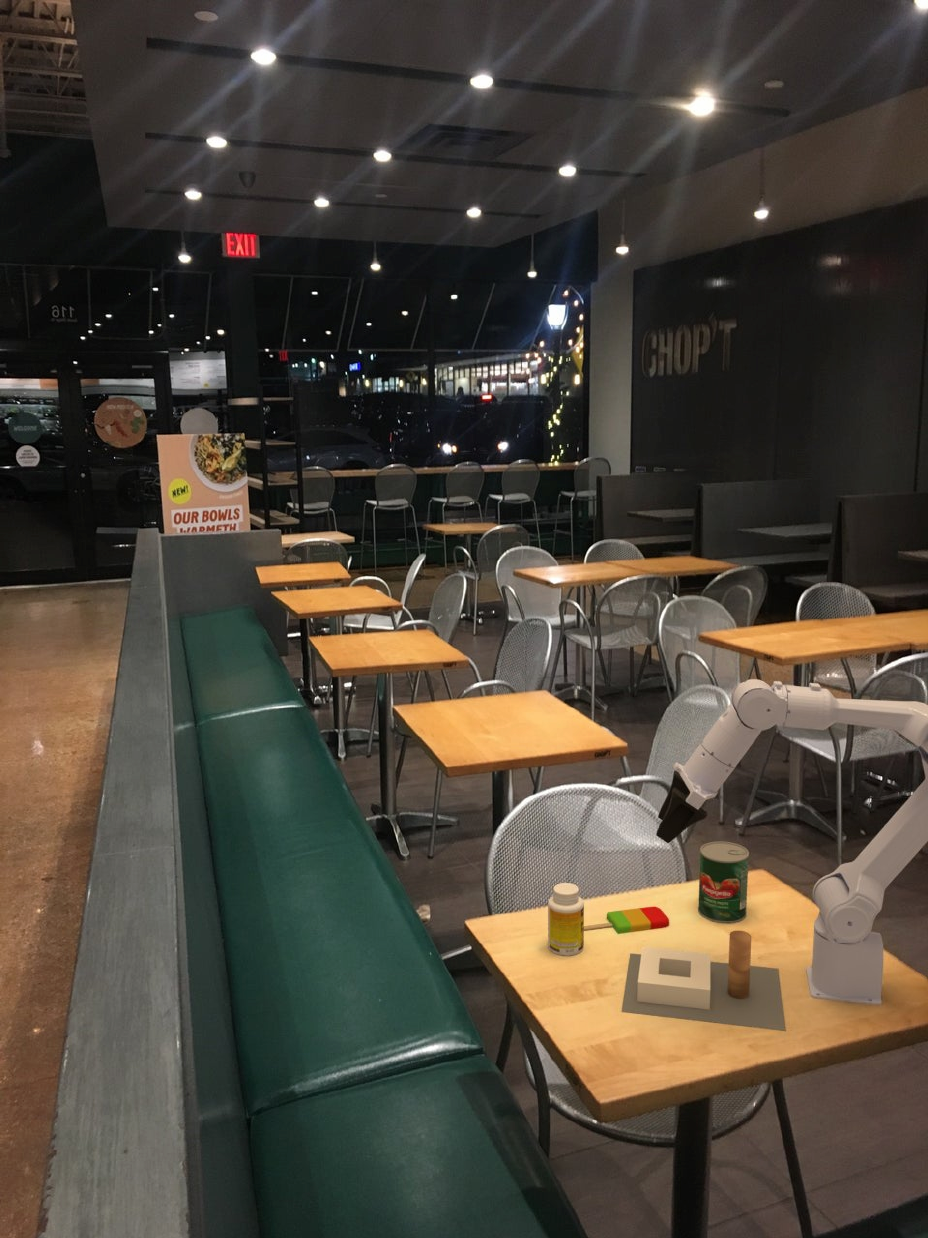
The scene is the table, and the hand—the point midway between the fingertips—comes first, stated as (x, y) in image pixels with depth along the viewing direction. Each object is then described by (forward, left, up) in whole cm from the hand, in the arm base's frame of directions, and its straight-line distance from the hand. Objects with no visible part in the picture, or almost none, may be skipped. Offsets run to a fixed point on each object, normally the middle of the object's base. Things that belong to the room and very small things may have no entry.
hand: (662, 829), depth 145 cm
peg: (-11, +2, -23) cm, 26 cm away
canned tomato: (-9, -23, -24) cm, 34 cm away
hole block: (-2, +2, -23) cm, 24 cm away
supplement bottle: (+15, -6, -24) cm, 29 cm away
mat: (-6, +2, -24) cm, 24 cm away
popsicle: (+7, -15, -24) cm, 29 cm away
